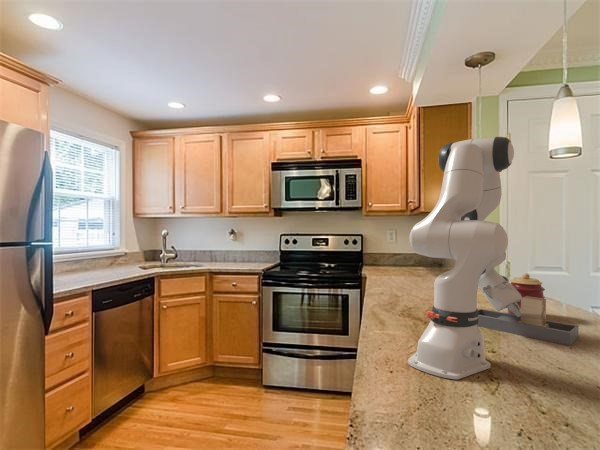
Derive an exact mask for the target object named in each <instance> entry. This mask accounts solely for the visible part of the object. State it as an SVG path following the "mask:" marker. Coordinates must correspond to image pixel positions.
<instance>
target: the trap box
mask: <svg viewBox="0 0 600 450" xmlns="http://www.w3.org/2000/svg"><path fill="white" fill-rule="evenodd" d="M477 310H478V314H479V318H478V324H477V326H478V327H480V328H484V329H491V330H495V331H499V332H503V333H508V334H514V335H518V336H523V337H528V338H533V339H537V340H542V341H547V342H552V343H556V344H560V345H565V346H571V345H573V344H574V343H575V342H576V341H577V340H578V338H579V329H580V328H579V327H580V325H577V324H572V323H566V322H560V321H555V320H549V319H546V325H545V326H537V325H532V324H526V323H521V316H520V317H517V316H516V315H515V314H509V313H507V312H503V311H497V310H492V309H486V308H485V309H484V308H482V307H481V308H477Z"/></svg>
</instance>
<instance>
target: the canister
mask: <svg viewBox="0 0 600 450" xmlns="http://www.w3.org/2000/svg"><path fill="white" fill-rule="evenodd" d="M509 283H511V284H512V285H513V286H514V287H515V289H516V290H517V291H518V292H519V293H520V294H521V296H522V298H523V297H525V296H529V297H536V298H543V299H546V297H545V296H544V292H545V290H546V289H545V287H543V286H542V285H543V282H542V281H541V280H539V279H537V278H531V277H530V274H529V273H527V272H526V273H525V272H524V273H523V274H522V275H521V277H517V276H516V277H514V278H512V279H509ZM517 304H518V305H519V307H520V309H521V300H520V301H519V302H517ZM507 312H508V313H509V314H514V313H512V312H511V311H509V310H508V309H507Z"/></svg>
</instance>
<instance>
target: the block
mask: <svg viewBox="0 0 600 450" xmlns="http://www.w3.org/2000/svg"><path fill="white" fill-rule="evenodd" d="M546 320H547V298H544V299H543V298H536V297H529V296H525V297H523V298H521V323H526V324H532V325H537V326H545V325H546Z"/></svg>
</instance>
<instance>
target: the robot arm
mask: <svg viewBox="0 0 600 450" xmlns="http://www.w3.org/2000/svg"><path fill="white" fill-rule="evenodd" d="M514 157H515V148H514V145H513V144H512V141H511V140H510V139H509V138H508V137H505V136H495V137H484V138H483V137H482V138H470V139H464V140H460V141H456V142H454V141H451V142H448V143H446V144H444V145H443V146H442V147H441V148H440V149H439V152H438V159H437V161H438V165H439V169H440V170H441V171H442V172H443V177H442V183H441V184H442V185H441V189H440V193H439V197H438V201H437V202H436V204H435V205H434V207H433V209H432V210H431V212H429V213H428V215H426V217H424V218H422V220H420V221H419V222H417V223H415V224H414V225H413V226H412V228H411V230H410V233H409V237H408V239H409V240H408V241H409V245H410V247H411V249H412V251H413V252H414V253H415V254H417V255H420V256H425V257H428V258H434V259H435V258H437V259H451V260H455V264H454V267H453V268H452V269H449V270H447V271H445V272H442V273H440V274H439V275H438V276H437V277H436V278H435V279H434V282H433V305H432V308H431V310H428V311H426V315H425V316H426V318H427V319H430V321H429V323H428V325H427V327H425V329H424V331H423V333H422V334H421V336H420V338H419V339H418V342H417V348H416V352H415V353H414V354H413V355H411V356H410V357H409V358H408V359H407V364H408V365H409V366H411V367H412V368H415V369H417V370H418V371H422V372H424V373H427V374H429V375H432V376H436V377H440V378H445V379H450V380H460V379H462V378H463V379H464V378H466V377H468V376H471V375H474V374H478V373H480V372H483V371H485V370H488V369H491V363H490V362H489V361H487V360H486V353H485V352H486V351H485V338H484V337H485V336H484V334H483V332H482V331H481V330H480V328H479V326H477V324H478V318H479V314H478V310H477V309H478V308H477V303H478V302H477V301H478V289H480V291H481V292H482V293H483V294H484V297H485V299H486V300H487V301H488V303H489V304H490V305H491V307H493V309H495V311H498V312H501V311H503V310H504V309H507V311H508V310H509V311H511V312H512V313H514V314H515V315H516V316H517V317H520V316H521V309H520V307H519V305H518V304H517V302H519V301H520V300H521V298H522V296H521V294H520V293H519V292H518V291H517V290H516V289H515V287H514V286H513V285H512V284H511V282H510V279H509V278H508V277H506V276H505V275H502V274H500V273H499V272H498V271H497V270H495V268H496V267H498V266H499V265H501V264H502V263H503V262H504V261H505V260H506V257H507V254H506V251H507V248H508V245H509V238H508V237H509V236H508V233H507V232H506V230H505V229H504V227H503V226H502V225H501V224H500V223H498V222H493V221H487V220H486V219H487V218H488V216H489V215H491V214H492V212H494V211H495V210H496V209H497V208H498V207H499V205H500V203H501V199H502V182H501V181H502V179H501V175H500V173H501V172H502V171H504V170H506V169H508V168H510V166H511V165H512V164H513V163H512V162H513V160H514Z"/></svg>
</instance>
